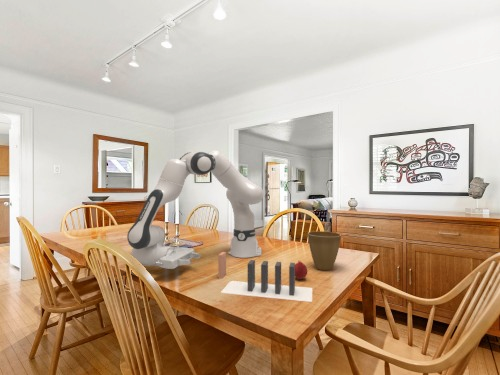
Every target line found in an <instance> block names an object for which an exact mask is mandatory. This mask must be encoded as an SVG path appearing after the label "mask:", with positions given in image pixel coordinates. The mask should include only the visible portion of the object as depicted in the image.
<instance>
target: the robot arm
mask: <svg viewBox="0 0 500 375" xmlns="http://www.w3.org/2000/svg"><path fill="white" fill-rule="evenodd" d="M208 173H211V174H212V176H214V177H215V178H216V180H217V181H218V182H219V183H221V185H222V186H223V187H224V188H226V199H228V201H229V204H230V205H231V208H232V212H233V218H234V219H233V221H234V222H233V223H234V224H233V225H234V228H233V237H231V239H230V250H229V251H228V253H227V254H228V255H231V256H232V257H234V258H235V257H236V258H240V259H241V258H242V259H243V258H244V259H246V258H253V257H259V256H262V247H261V246H259V245H258V244H259V243H258V238H257V237H256V227H255V215H254V212H252V210H251V208H250V205H256V204H259V203H261V202H262V201H263V198H264V190H263V188H262V187H261V186H260V185H257V183H256V184H255V183H254V182H252V181H251V180H250V179H249V178H247V177H245V176H244V175H243V174H242V173H241V172H240V171H239V170H238V169H237V168H236V166H234V165H233V163H232V162H231V161H230V159H228V158H227V156H225V155H224V154H223V153H222V152H221V151H219V150H217V149H213V150H210V151H208V153H207V152H203V151H189V152H187V153H184V155H182V156H181V157H180V158H171V159H169V160H168V161H167V162H166V164H165V165H164V167H163V170H162V171H161V174H160V176H159V179H158V181H157V184H156V186H155V187H154V189H153V190H152V191H150V193H149V195H148V197H147V198H146V200H145V202H144V205H143V206H142V208H141V211H140V212H139V214H138V216H137V219H136V220H135V221H134V223H133V224H132V226H131V227H130V228H129V230H128V231H127V236H126V237H127V242H128V244H129V246H130V247H131V248H132V250H131V252H130V254H131V255H132V256H133V257H134V258H136V259H137V260H138V261H139V262H140V263H141V264H142V265H141V266H148V267H152V266H155V267H159V268H162V269H168V270H174V269H176V268H177V267H179V266H185V265H187V266H188V265H191V263H192V260H191V259H194V258H195V259H200V258H201V253H197V252H195V251H196V249H194V248H191V247H185V246H184V247H182V246H179V245H172V246H164V245H165V244H164V243H165V238H166V232H165V229H164V228H163V227H162V226H161V225H157V224H156V225H154V224H153V223H154V219H155V217H156V216H157V213H158V211H159V210H160V209H161V207H162V206H164V205H166V204H168V203H171V202H173V201H176V199H178V198H179V196H180V194H181V192H182V191H183V187H184V184H185V182H186V179H187V178H188V177H189V175H190V174H191V175H195V176H196V175H199V176H203V175H206V174H208ZM131 255H130V256H131Z"/></svg>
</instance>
